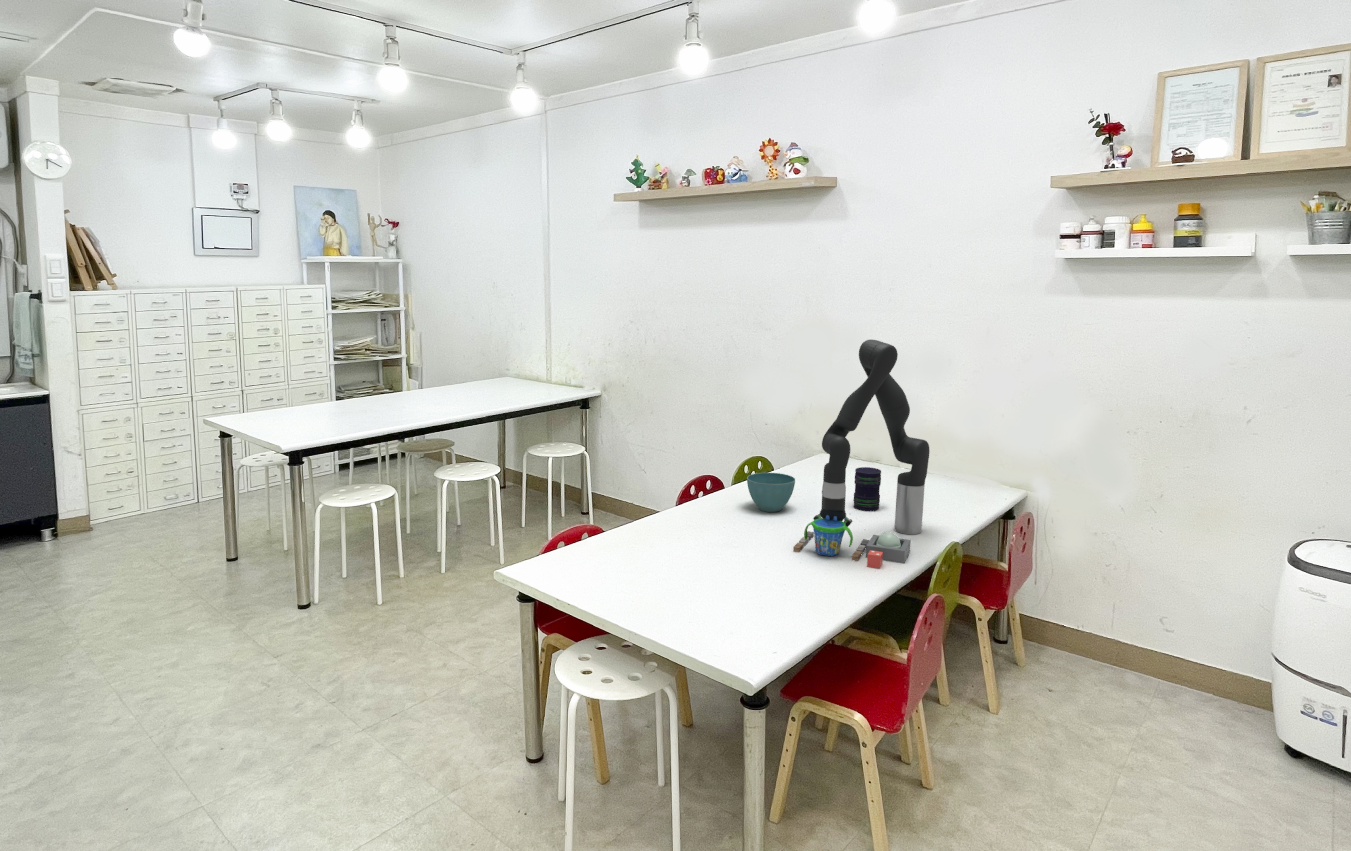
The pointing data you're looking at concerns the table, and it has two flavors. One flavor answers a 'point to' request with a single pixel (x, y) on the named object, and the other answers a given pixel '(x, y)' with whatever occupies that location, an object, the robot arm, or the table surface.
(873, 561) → the red die
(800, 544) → the track markers
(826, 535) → the snack cup
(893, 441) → the robot arm
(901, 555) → the frame
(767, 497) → the teal bowl
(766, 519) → the table surface
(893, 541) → the dome
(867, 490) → the storage jar
